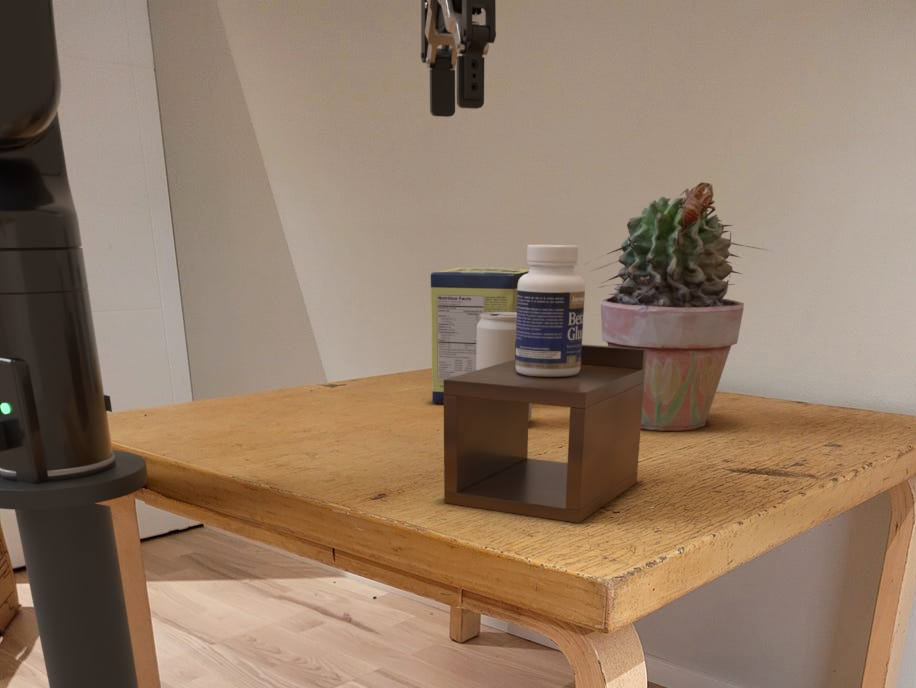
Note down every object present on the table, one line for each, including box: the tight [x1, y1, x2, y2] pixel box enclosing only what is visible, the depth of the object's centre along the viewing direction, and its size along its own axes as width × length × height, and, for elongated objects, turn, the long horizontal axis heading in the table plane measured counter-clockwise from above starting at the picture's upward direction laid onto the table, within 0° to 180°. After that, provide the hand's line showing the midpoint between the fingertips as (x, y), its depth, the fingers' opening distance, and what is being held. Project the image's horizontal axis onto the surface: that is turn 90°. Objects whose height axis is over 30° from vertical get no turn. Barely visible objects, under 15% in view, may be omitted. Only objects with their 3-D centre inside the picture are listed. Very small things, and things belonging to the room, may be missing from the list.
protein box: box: [430, 266, 530, 405], centre depth 123 cm, size 10×16×16 cm
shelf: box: [443, 341, 647, 524], centre depth 80 cm, size 14×12×12 cm
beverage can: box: [476, 312, 533, 421], centre depth 107 cm, size 6×6×12 cm
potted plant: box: [583, 181, 774, 432], centre depth 106 cm, size 18×20×25 cm
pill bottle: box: [515, 244, 586, 377], centre depth 77 cm, size 5×5×10 cm
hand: (455, 112), depth 84 cm, fingers open, 8 cm apart
